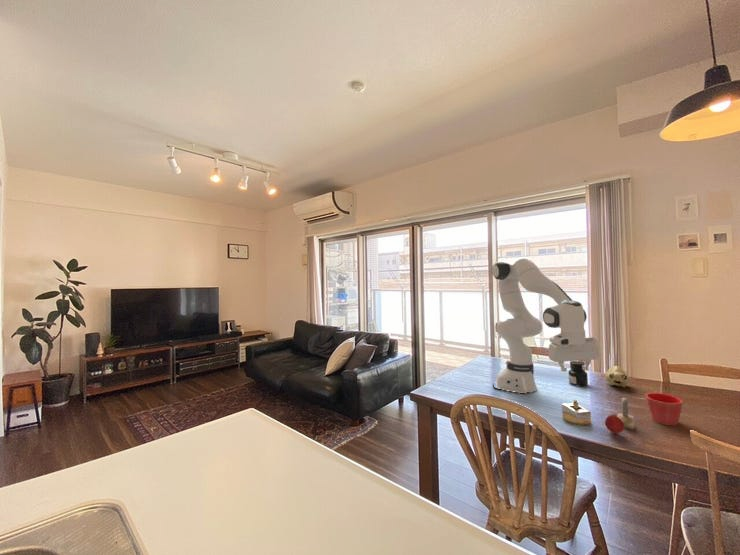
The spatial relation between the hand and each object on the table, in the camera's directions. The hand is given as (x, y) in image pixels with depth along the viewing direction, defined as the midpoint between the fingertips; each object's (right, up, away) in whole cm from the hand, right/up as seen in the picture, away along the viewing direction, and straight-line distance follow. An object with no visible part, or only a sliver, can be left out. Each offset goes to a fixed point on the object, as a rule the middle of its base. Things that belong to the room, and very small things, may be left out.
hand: (574, 370), depth 132 cm
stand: (+16, -20, -7) cm, 27 cm away
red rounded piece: (+7, -21, -13) cm, 26 cm away
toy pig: (+46, -19, +34) cm, 60 cm away
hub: (0, -21, -1) cm, 21 cm away
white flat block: (0, -19, -1) cm, 19 cm away
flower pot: (+34, -20, -5) cm, 40 cm away
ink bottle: (+29, -20, +40) cm, 53 cm away
